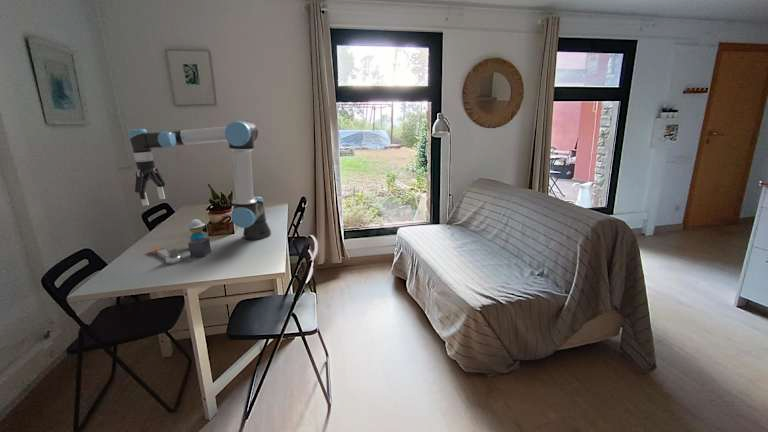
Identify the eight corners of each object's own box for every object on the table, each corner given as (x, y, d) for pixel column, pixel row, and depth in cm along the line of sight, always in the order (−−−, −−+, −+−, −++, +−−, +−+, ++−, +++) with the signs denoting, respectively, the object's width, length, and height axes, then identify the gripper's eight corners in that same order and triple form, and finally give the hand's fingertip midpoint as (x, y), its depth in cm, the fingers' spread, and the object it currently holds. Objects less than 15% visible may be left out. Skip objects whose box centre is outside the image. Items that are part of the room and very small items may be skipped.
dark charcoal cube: (211, 251, 178) (208, 237, 176) (204, 256, 171) (202, 242, 169) (197, 252, 178) (195, 238, 175) (190, 257, 171) (187, 243, 169)
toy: (212, 244, 189) (207, 217, 184) (198, 249, 181) (192, 222, 177) (201, 242, 192) (196, 216, 188) (187, 247, 185) (181, 221, 180)
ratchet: (147, 252, 179) (144, 241, 177) (162, 248, 184) (159, 237, 182) (169, 265, 162) (166, 252, 160) (185, 260, 167) (182, 248, 165)
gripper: (152, 158, 183) (161, 196, 189) (118, 164, 159) (130, 208, 165) (166, 157, 183) (175, 196, 189) (135, 163, 159) (146, 207, 165)
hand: (154, 202), depth 177 cm, fingers open, 13 cm apart
